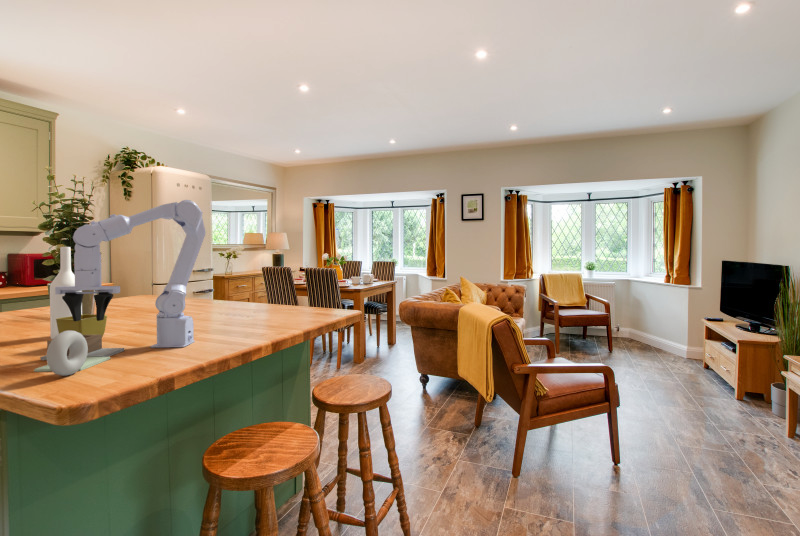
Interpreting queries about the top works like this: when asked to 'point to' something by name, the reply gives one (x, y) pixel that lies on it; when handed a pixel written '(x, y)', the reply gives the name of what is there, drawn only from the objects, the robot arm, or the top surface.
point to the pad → (88, 363)
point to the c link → (89, 343)
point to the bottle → (56, 302)
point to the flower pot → (82, 325)
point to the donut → (59, 353)
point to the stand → (99, 353)
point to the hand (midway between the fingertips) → (88, 320)
